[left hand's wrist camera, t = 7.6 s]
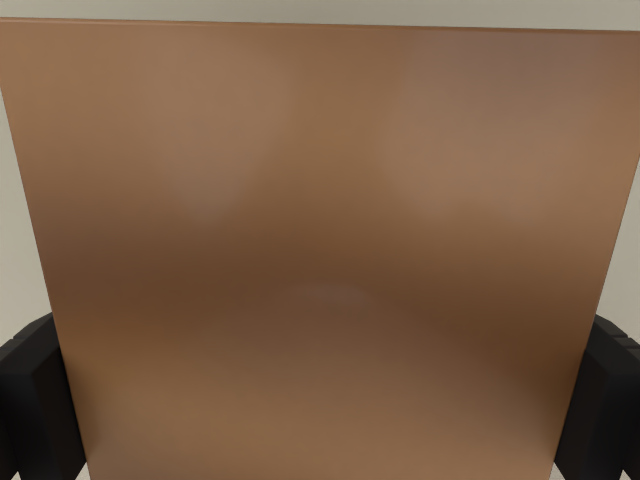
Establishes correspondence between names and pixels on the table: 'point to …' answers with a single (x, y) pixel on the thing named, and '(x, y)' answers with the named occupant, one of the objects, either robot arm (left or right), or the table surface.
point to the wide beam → (321, 238)
